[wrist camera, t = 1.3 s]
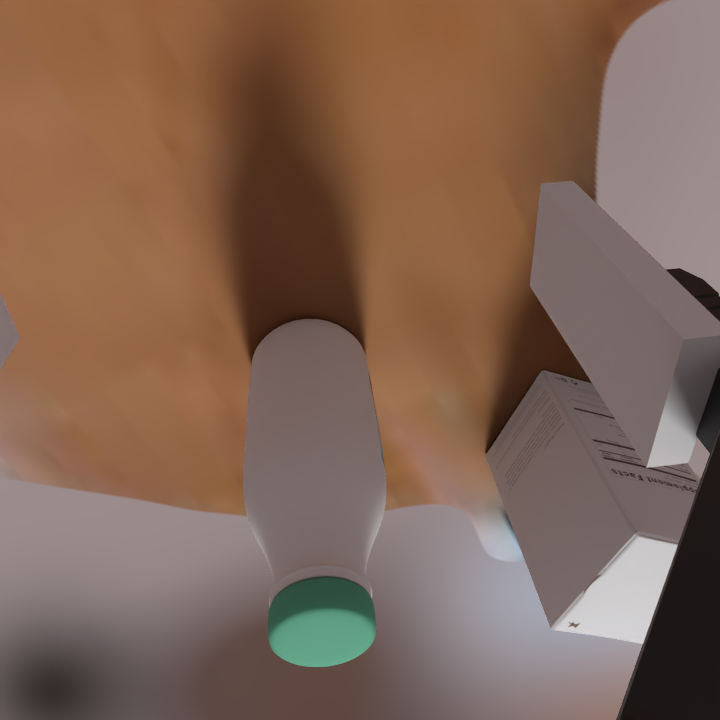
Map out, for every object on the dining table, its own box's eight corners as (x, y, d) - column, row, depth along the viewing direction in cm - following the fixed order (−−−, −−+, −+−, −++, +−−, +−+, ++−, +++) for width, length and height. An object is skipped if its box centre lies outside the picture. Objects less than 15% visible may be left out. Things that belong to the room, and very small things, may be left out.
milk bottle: (226, 356, 42) (188, 640, 26) (320, 292, 40) (343, 558, 23) (299, 424, 46) (306, 708, 30) (388, 370, 44) (448, 643, 27)
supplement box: (577, 478, 52) (666, 652, 40) (482, 455, 49) (545, 634, 37) (643, 395, 47) (767, 563, 35) (542, 365, 45) (637, 535, 33)
